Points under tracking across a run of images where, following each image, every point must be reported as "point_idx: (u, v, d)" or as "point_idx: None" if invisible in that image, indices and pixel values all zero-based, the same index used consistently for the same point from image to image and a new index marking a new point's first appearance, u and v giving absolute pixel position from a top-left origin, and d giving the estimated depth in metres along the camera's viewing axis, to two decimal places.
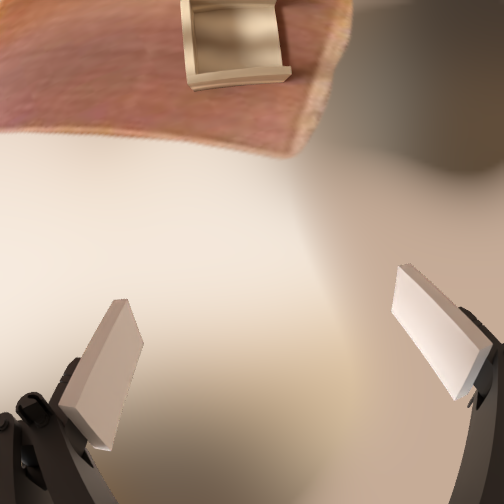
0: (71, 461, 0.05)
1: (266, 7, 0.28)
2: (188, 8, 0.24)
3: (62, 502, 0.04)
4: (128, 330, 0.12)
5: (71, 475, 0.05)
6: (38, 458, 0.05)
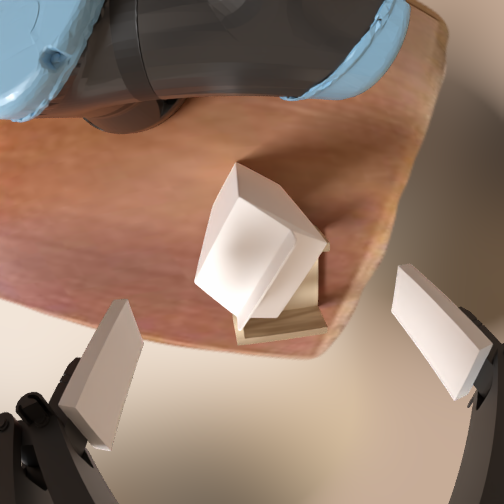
0: (71, 461, 0.05)
1: None
2: None
3: (62, 502, 0.04)
4: (128, 330, 0.12)
5: (71, 475, 0.05)
6: (38, 458, 0.05)
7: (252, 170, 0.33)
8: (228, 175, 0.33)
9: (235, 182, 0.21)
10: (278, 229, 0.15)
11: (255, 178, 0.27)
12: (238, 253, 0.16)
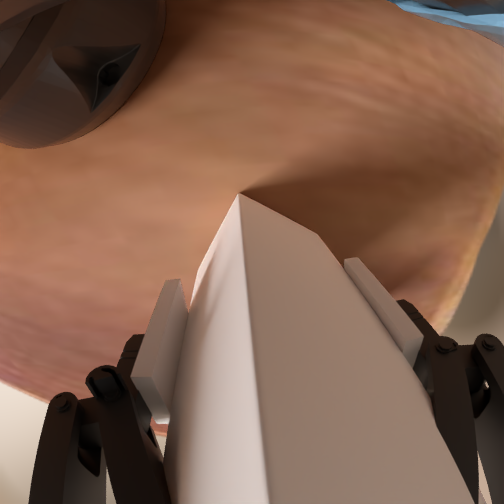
0: (140, 440, 0.06)
1: None
2: None
3: (121, 481, 0.05)
4: (181, 308, 0.14)
5: (137, 455, 0.06)
6: (101, 433, 0.06)
7: (269, 209, 0.18)
8: (224, 219, 0.18)
9: (244, 332, 0.06)
10: None
11: (285, 248, 0.12)
12: None
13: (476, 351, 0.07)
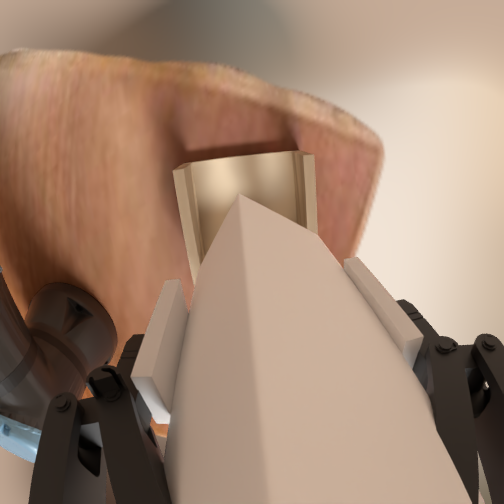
0: (140, 440, 0.06)
1: (192, 172, 0.30)
2: None
3: (121, 481, 0.05)
4: (181, 308, 0.14)
5: (137, 455, 0.06)
6: (101, 433, 0.06)
7: (270, 210, 0.18)
8: (224, 220, 0.18)
9: (244, 334, 0.06)
10: None
11: (285, 249, 0.12)
12: None
13: (476, 351, 0.07)
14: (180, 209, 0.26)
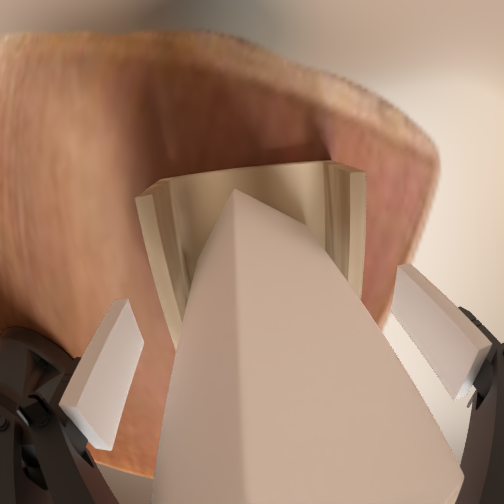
0: (71, 461, 0.05)
1: (173, 193, 0.20)
2: None
3: (62, 502, 0.04)
4: (128, 330, 0.12)
5: (72, 475, 0.05)
6: (38, 458, 0.05)
7: (262, 203, 0.20)
8: (221, 212, 0.20)
9: (231, 286, 0.08)
10: None
11: (272, 233, 0.14)
12: None
13: None
14: (150, 259, 0.16)
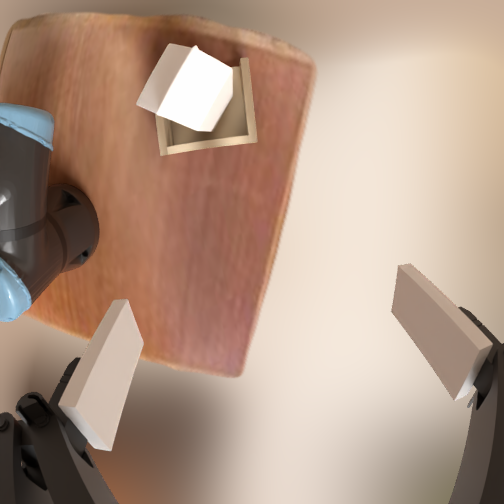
0: (71, 461, 0.05)
1: None
2: (177, 145, 0.35)
3: (62, 502, 0.04)
4: (128, 330, 0.12)
5: (71, 476, 0.05)
6: (38, 458, 0.05)
7: None
8: None
9: None
10: (190, 51, 0.18)
11: None
12: (165, 73, 0.19)
13: None
14: None
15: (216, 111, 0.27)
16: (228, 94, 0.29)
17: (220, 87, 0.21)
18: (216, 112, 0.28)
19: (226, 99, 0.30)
